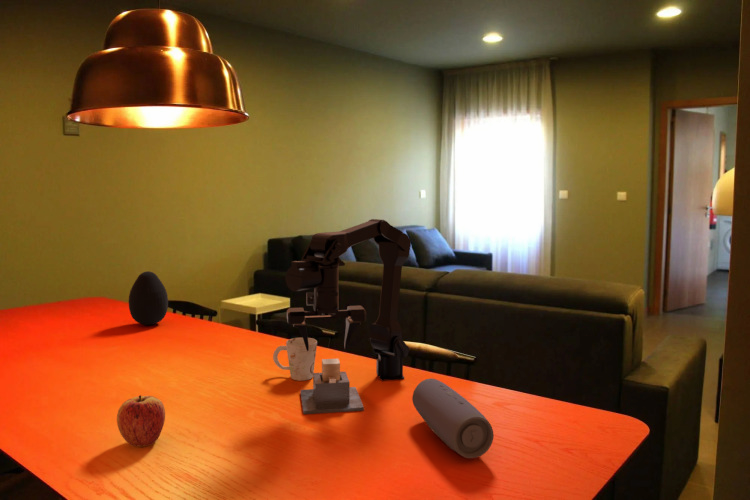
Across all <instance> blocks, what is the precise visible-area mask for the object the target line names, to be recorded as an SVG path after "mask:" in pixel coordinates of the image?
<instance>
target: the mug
mask: <svg viewBox="0 0 750 500" xmlns="http://www.w3.org/2000/svg"><path fill="white" fill-rule="evenodd" d="M308 344H309V351H307V349H306V346H305V343H304V340H303V337H293V338H290V339H287V340H286V343H285V345H280V346H277V347H276V349H275V350H274V351H273V354H272V355H273V356H272V360H273V362H274V364H275V365H276V366H277V367H278V368H279V369H281V370H283V371H284V370H285V371H289V374H290V378H291V379H292V380H295V381H299V382H300V381H301V382H302V381H303V382H304V381H309V380H311V379H313V373H315V363H316V355H317V347H318V340H317V339H315V338H313V337H312V338H311V337H308ZM281 351H286V352H287V353H286V354H287V362H288V366H285V365H282V364H281V363H280V361H279V358H278V357H279V354H280V352H281Z"/></svg>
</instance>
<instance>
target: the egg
mask: <svg viewBox="0 0 750 500" xmlns="http://www.w3.org/2000/svg"><path fill="white" fill-rule="evenodd" d="M168 308H169V298H168V293H167V289H166V287H165V286H164V284H163V282H162V281H161V279H160V278H159V277H158V275H157V274H156V273H154V272H153V271H143V272H141V273H140V274H139V275H138V277H137V278H136V280H135V281H134V282H133V284H132V287H131V289H130V292H129V295H128V310H129V313H130V316H131V317H132V319H133V320H134V321H135V322H137V324H140V325H144V326H153V325H156V324H159V323H160V322H161V321H162V320H163V319H164V318H165V317H166V315H167V312H168Z"/></svg>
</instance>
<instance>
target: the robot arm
mask: <svg viewBox="0 0 750 500" xmlns="http://www.w3.org/2000/svg"><path fill="white" fill-rule="evenodd" d="M371 239H372V242H374V243H375V244H376V245H377V246H378V255H379V259H380V260H381V262H382V264H383V268H382V277H381V278H382V280H381V288H380V291H381V292H380V301H379V313H378V318H377V320H376V321H375V322H374V323H371V324H370V327H369V331H370V332H369V335H368V339H369V343H370V345H371V348H372V351H373V353H374V354H377V355H378V358H377V359H376V362H375V363H376V369H375V370H376V371H375V372H376V375H377V376H378V377H379V379H380V380H381V381H391V380H394V381H396V380H404V379H405V376H404V359H405V358H406V357H407V356H409V352H410V347H409V345H407V344H406V343H405V341H404V340H403V330H402V327H401V325H400V323H399V320H398V314H399V313H398V312H399V302H400V292H401V281H402V271H403V270H402V268H403V265H404V264H405V263H406V261H407V260H408V258H409V257H410V251H411V245H412V242H411V241H412V240H411V238H410V237H409V236H408V234H406V233H404V232H403V231H401V230H400V229H398V228H396V227H395V226H393V225H391V224H390V222H388V221H387V220H385V219H381V218H380V219H378V218H371V219H369V220H368V221H365V222H362V223H360V224H357V225H354V226H351V227H348V228H346V229H343V230H339V231H327V232H326V231H325V232H317V233H315V234H313V235H312V236H311V240H310V242H309V244H308V246H307V248H306V250H305V252H304V254H303V256H302V257H301V260H298V261H297V260H294V261H293V260H291V266H290V267H288V269H287V270H286V274H285V282H286V286H287V287H288V289H289V290H290V291H292V292H300V291H306V290H312V289H314V290H313V291H311V292H310V291H307V292H306V293H305V294H306V297H305V298H306V299H305V301H306V306H312V309H313V310H309V311H307V310H304V307H288V309H287V310H286V320H287V325H288V324H289V325H292V327H293V328H295V329H296V328H297V329H298V330H299V333H300V335H301V338H303V340H304V343H305V346H306V349H307V351H309V344H308V338H309V337H308V331H307V323H306V320H319V319H323V320H324V319H343V318H345V331H344V332H345V333H344V341H343V343H344V350H348V349H347V348H348V346H349V344H350V341H351V338H352V336H353V334H354V332H355V331H356V328H357V326H361V325H362V322H366V321H367V315H368V314H367V311H366V309H365V308H364V307H363V306H362V305H349V306H347V309H339V267H345V265H346V262H344V260H342V259H341V258H340V257H341V256H343V255H344V254H346V253H347V252H348V250H349V248H351V247H353V246H355V245H358V244H361V243H364V242H366V241H369V240H371Z"/></svg>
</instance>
